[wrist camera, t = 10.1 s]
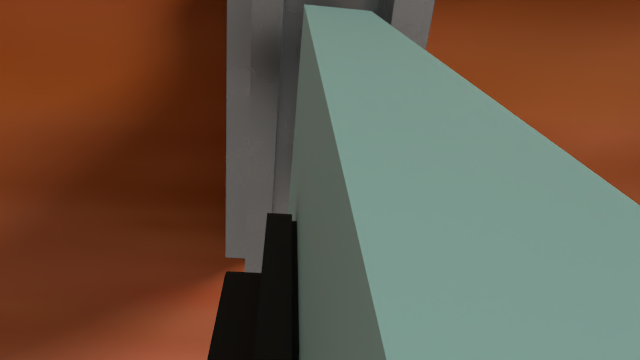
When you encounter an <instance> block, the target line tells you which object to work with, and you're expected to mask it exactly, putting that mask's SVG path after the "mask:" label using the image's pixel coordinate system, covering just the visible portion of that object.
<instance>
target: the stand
mask: <svg viewBox="0 0 640 360" xmlns="http://www.w3.org/2000/svg"><path fill="white" fill-rule="evenodd" d="M434 3H435V0H227V90H226V254H225V257H227V258H245V272H253V273H261V271H262V261H263V250H264V240H265V230H266V219H267V213H279V214H288V206H289V193H290V180H291V167H292V154H293V141H294V128H295V115H296V103H297V90H298V77H299V64H300V51H301V38H302V25H303V12H304V4H306V5H316V6H326V7H336V8H346V9H356V10H366V11H372V12H373V13H375V14H376V15H377V16H379V17H380V18H382V19H383V20H384V21H386V22H387V23H388V24H390V25H391V26H393V27H394V28H395V29H397V30H398V31H400V32H401V33H402V34H404V35H405V36H406V37H408V38H409V39H411V40H412V41H413V42H415V43H416V44H417V45H419V46H420V47H422V48H423V49H424V50H426V45H427V40H428V35H429V29H430V24H431V19H432V13H433V8H434Z"/></svg>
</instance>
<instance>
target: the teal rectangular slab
mask: <svg viewBox="0 0 640 360" xmlns="http://www.w3.org/2000/svg"><path fill="white" fill-rule="evenodd" d="M288 214H292V221H297V256H298V315H299V360H640V205H638V204H637V203H635V202H634V201H633V200H631V199H630V198H629V197H627V196H626V195H624V194H623V193H622V192H620V191H619V190H618V189H616V188H615V187H613V186H612V185H611V184H609V183H608V182H606V181H605V180H604V179H602V178H601V177H600V176H598V175H597V174H595V173H594V172H593V171H591V170H590V169H589V168H587V167H586V166H584V165H583V164H582V163H580V162H579V161H577V160H576V159H575V158H573V157H572V156H571V155H569V154H568V153H566V152H565V151H564V150H562V149H561V148H560V147H558V146H557V145H555V144H554V143H553V142H551V141H550V140H549V139H547V138H546V137H544V136H543V135H542V134H540V133H539V132H537V131H536V130H535V129H533V128H532V127H531V126H529V125H528V124H526V123H525V122H524V121H522V120H521V119H520V118H518V117H517V116H515V115H514V114H513V113H511V112H510V111H509V110H507V109H506V108H504V107H503V106H502V105H500V104H499V103H497V102H496V101H495V100H493V99H492V98H491V97H489V96H488V95H486V94H485V93H484V92H482V91H481V90H480V89H478V88H477V87H475V86H474V85H473V84H471V83H470V82H469V81H467V80H466V79H464V78H463V77H462V76H460V75H459V74H457V73H456V72H455V71H453V70H452V69H451V68H449V67H448V66H446V65H445V64H444V63H442V62H441V61H440V60H438V59H437V58H435V57H434V56H433V55H431V54H430V53H428V52H427V51H426V50H424V49H423V48H422V47H420V46H419V45H417V44H416V43H415V42H413V41H412V40H411V39H409V38H408V37H406V36H405V35H404V34H402V33H401V32H400V31H398V30H397V29H395V28H394V27H393V26H391V25H390V24H388V23H387V22H386V21H384V20H383V19H382V18H380V17H379V16H377V15H376V14H375V13H373V12H372V11H366V10H356V9H346V8H336V7H326V6H316V5H306V4H304V12H303V25H302V38H301V51H300V64H299V77H298V90H297V103H296V115H295V128H294V141H293V154H292V167H291V180H290V193H289V206H288Z"/></svg>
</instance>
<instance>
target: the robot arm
mask: <svg viewBox="0 0 640 360" xmlns="http://www.w3.org/2000/svg"><path fill="white" fill-rule="evenodd" d="M207 360H299V315H298V256H297V221H292V214H279V213H267V219H266V230H265V240H264V250H263V261H262V271H261V273H253V272H229V271H227V272H226V274H225V278H224V283H223V287H222V292H221V297H220V302H219V307H218V311H217V316H216V321H215V326H214V330H213V335H212V340H211V345H210V350H209V354H208V359H207Z"/></svg>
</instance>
